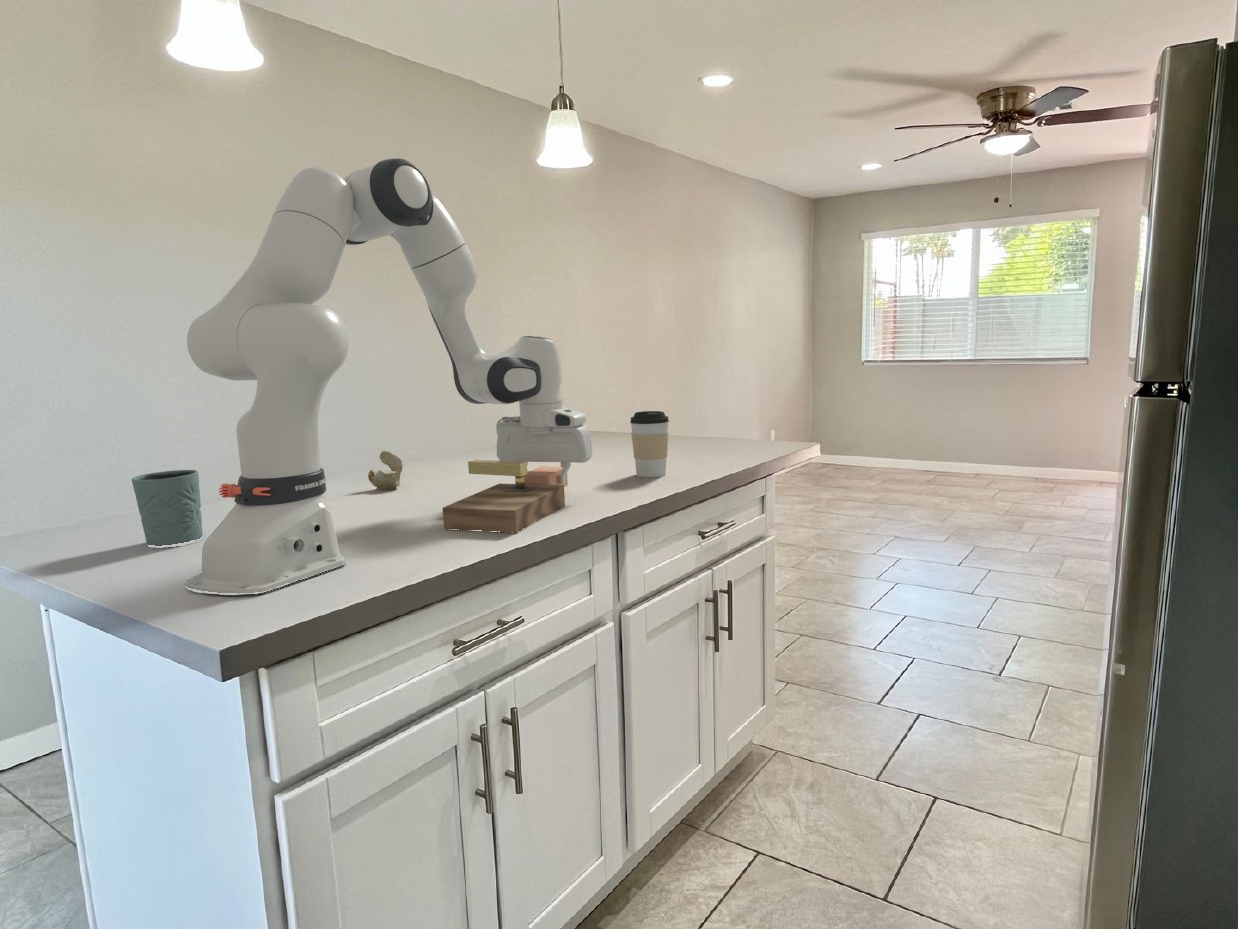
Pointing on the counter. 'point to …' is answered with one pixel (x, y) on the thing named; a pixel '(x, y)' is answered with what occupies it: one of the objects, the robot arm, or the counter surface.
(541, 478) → the salmon orange block
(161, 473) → the green embossed plant pot
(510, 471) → the yellow lever handle
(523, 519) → the base
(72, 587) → the counter surface
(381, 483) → the tan squirrel figurine
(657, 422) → the coffee cup
